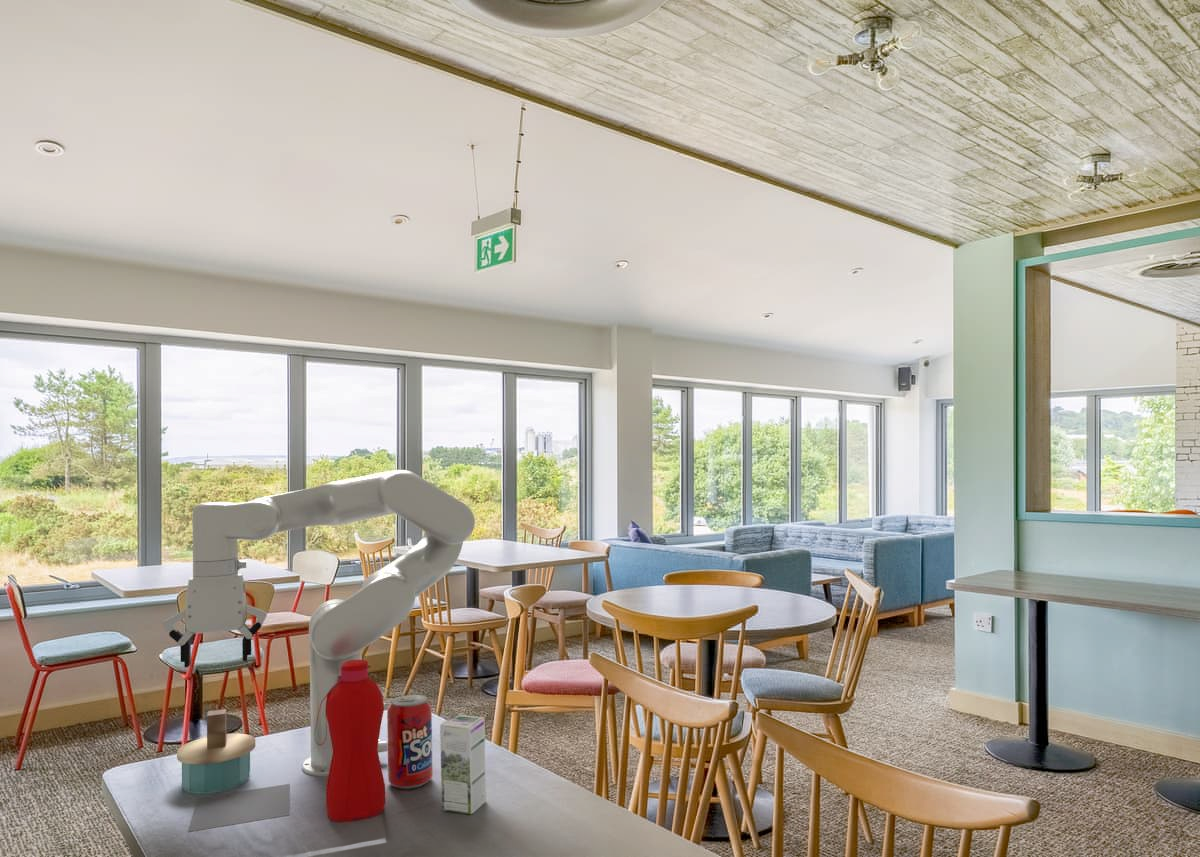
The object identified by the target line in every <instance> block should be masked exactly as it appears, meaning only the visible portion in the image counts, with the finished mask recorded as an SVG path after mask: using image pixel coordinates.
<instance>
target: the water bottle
mask: <svg viewBox="0 0 1200 857" xmlns="http://www.w3.org/2000/svg"><path fill="white" fill-rule="evenodd" d="M368 662H369V661H368V660H365V659H362V660H349V661H347V662H345V663H343V664H342V665H341V676H338V677H339V679H338V677H337V679H338V680H337V681H338V682H337V683H336V684H335V685H334V686H333V687H332V688H331V689H330V690H329V692H328V694H327V695H326V696H325V698H326V697H327V700H326V709H325V714H326V717H327V721H328V726H329V731H330V737H331V743H332V748H333V755H332V760H331V765H330V770H329V775H328V776H327V781H326V789H325V790H326V792H325V793H326V797H325V802H326V805H325V807H326V812H327V816H328V818H329V819H330V820H331V821H332V822H337V823H345V822H347V823H348V822H352V821H356V820H363V819H369V818H373V817H376V816H378V815H380V814H381V813H383V811H384V809H385V806H386V784H385V778H384V773H383V769H382V764H381V760H380V756H379V753H378V750H377V749H378V742H379V739H380V733H381V725H382V721H383V717H384V711H385V704H384V697H383V696H384V695H383V692H382V691H381V689H380V687H379V686H378V684H377V683H376V681H374V680H373V679H371V678H369V675H368V674H369V673H368V672H369V671H368V670H369V668H372V666H371V665H369V664H368ZM325 698H324V699H325ZM324 699H323V700H324ZM323 700H322V702H323ZM321 705H322V703H321ZM321 705H320V708H321ZM320 708H319V711H320ZM318 715H319V712H318ZM317 719H318V716H317ZM316 724H317V720H316ZM315 731H316V726H315ZM326 736H327V724H326ZM325 740H326V738H325ZM315 741H316V738H315ZM324 742H325V741H324ZM324 742H323V743H322V744H318V743H317V742H316V743H317V744H318V745H323V744H324Z"/></svg>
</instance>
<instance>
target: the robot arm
mask: <svg viewBox="0 0 1200 857" xmlns="http://www.w3.org/2000/svg"><path fill="white" fill-rule="evenodd" d="M393 514H394V515H397V516H398V517H400V518H401V519H402V520H405V521H406V522H408V523H409V524H410V525H413V526H415V528H417V529H420V530H422V531H423V536H422V537H421V539H420V540H419V542H417V544H415V545H414V546H413V547H412V548H410V549H409V550H407V551H406V552H405V553H403V554H402V555H401V556H398V557H397V558H396V559H394V560H392V561H391V562H389V563H388V564H386V565H385V566H383V567H382V568H379V569H378V570H376V571H374V572H373V573H371V574H370V575H368V576H367V577H366V578H365V580H364V581H363V582H362V585H361V588H360V589H359V590H357V592H355V593H354V594H351V595H350V596H349V597H348V598H346V599H338V598H335V599H329V600H326V601H324V602H323V603H321V604H320V605H319V606H317V607H316V609H314V611H313V612H312V614H311V617H310V619H309V623H308V624H309V625H308V640H309V641H308V642H309V643H308V644H309V684H310V685H309V692H310V693H309V696H310V697H309V698H310V699H309V700H310V701H309V702H310V704H309V705H310V707H309V708H310V709H309V710H310V711H309V712H310V714H309V715H310V716H309V718H310V719H309V720H310V756H309V757H308V758H307V759H305V760H304V761H303V763H302V764H301V767H302V769H301V770H302V772H303V773H305V774H307V775H309V776H315V777H328V775H329V770H330V765H331V760H332V755H333V748H332V743H331V737H330V731H329V726H328V721H327V717H326V714H325V709H326V700H327V697H326V698H325V696H326V695H327V694H328V692H329V690H330V689H331V688H332V687H333V686H334V685H335V684H336V683H337V682H338V681H337V680H338V679H339V677H338V676H341V665H342V664H343V663H345V662H347V661H349V660H363V659H362V658H363V657H362V651H363V649H366V648H367V647H368V646H370V645H372V644H373V643H375V642H376V641H378V639H380V638H382V637H384V636H385V635H386V634H387V633H389V632H390V631H391V630H393V629H395V628H396V627H397V626H398V625H400V624H402V623H403V622H404V621H405V620H406V618H407V617H409V615H410V614H411V612H412V611H413V609H414V606H415V603H416V598H417V597H418V596H420V595H421V594H423V593H424V592H426V591H427V590H428V589H430V588H431V587H433V586H434V585H435V584H436V583H437V582H439V581H440V580H442V579H444V577H445V576H446V575H447V574H448V573H449V572H450V571H451V570H452V569H453V567H454V566H455V565H456V563H457V560H458V559H459V556H460V554H461V551H462V548H463V544H464V542H465V541H466V540H467V539H469V538H470V537H471V536H472V534H473V531H474V529H475V526H476V525H475V524H476V523H475V522H476V521H475V520H476V519H475V516H474V513H473V511H472V509H471V508H470V507H469V505H467V504H466V503H464V502H463V501H461V500H459V499H457V498H455V497H454V496H452V495H451V494H449V493H447V492H446V491H444V490H442V489H441V488H439V487H437V486H435V485H434V484H432V483H430V482H429V481H427V480H426V479H424V478H423V477H421V475H419V474H416V473H415V472H413V471H411V470H406V469H392V470H388V471H383V472H377V473H373V474H368V475H363V476H359V477H357V476H356V477H352V478H348V479H341V480H337V481H331V482H328V483H327V482H326V483H323V484H320V485H317V486H313V487H309V488H308V487H307V488H304V489H300V490H294V491H293V490H292V491H288V492H284V493H279V494H274V495H268V496H263V497H257V498H253V499H251V500H250V501H245V502H237V503H234V502H230V501H210V502H201V503H198V504H195V506H194V507H193V509H192V521H191V522H192V524H191V525H192V577H189V578H188V581H187V589H186V597H185V609H183V610H181V611H180V612H178V613H175V614H174V615H172V616H170V617H169V618H167V619H165V620H164V621H163V622H162V625H163V627H164V629H165V630H166V632H167V633H168V636H169V637H170V638H171V639H173V640H174V641H175V642H176V643H178V645H179V646H180V648H179V649H180V663H184V665H183V667H184V668H189V667H190V665H191V661H192V658H191V657H192V652H191V651H192V650H191V649H192V648H191V642H190V639H191V637H192V636H193V635H194V634H206V633H207V634H208V633H218V632H230V631H238V632H239V633H240V634H241V635H242V636H243V638H242V642H241V644H242V661H243V662H247V661H248V658H249V657H248V656H251V655H252V638H253V636H254V635H255V634H256V633H257V632H258V631H259V630H260V629H261V628H262V626H263V624H264V622H265V620H266V618H267V615H268V612H266V611H265V610H262V609H261V608H257V607H255V606H253V605H249V604H247V598H246V597H247V596H246V594H247V593H246V584H245V581H244V577H243V576H244V575H243V573H239V571H240V570H242V569H247V561H246V560H240V559H239V556H238V555H239V553H238V552H239V550H238V546H239V545H238V543H239V542H238V540H244V541H245V540H246V541H264V540H267V539H269V538H271V537H273V536H274V535H275V534H277V533H278V534H279V533H281V532H287V531H291V530H297V529H302V528H308V527H309V528H310V527H314V526H315V527H317V526H328V527H329V526H330V527H332V526H333V527H334V526H342V525H343V526H344V525H346V524H351V523H355V522H357V523H358V522H361V521H366V520H370V519H374V518H375V519H376V518H379V517H384V516H388V515H393ZM248 614H249V615H252V616H253V617H256V620H255V623H254V624H252V625H251V627H249V626H248V625H247V624H246V622H247V617H248V616H247V615H248ZM183 619H184V627H185V632H184V633H181V632H180V631H179V630H177V628H176V626H175V624H177V623H178V622H180V621H182V620H183ZM337 677H338V679H337ZM324 698H325V699H324ZM323 699H324V700H323ZM322 700H323V702H322ZM321 703H322V705H321ZM320 705H321V708H320ZM319 708H320V711H319ZM318 712H319V715H318ZM317 716H318V719H317ZM316 720H317V724H316ZM326 724H327V736H326ZM315 726H316V731H315ZM315 738H316V741H315ZM325 738H326V740H325ZM324 741H325V742H324ZM316 742H317V743H318V744H322V743H323V742H324V744H323V745H318V744H317V743H316ZM377 750H378V754H379V753H384V752H388V740H384V741H381V740H380V738H379V742H378V749H377Z"/></svg>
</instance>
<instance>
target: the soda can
mask: <svg viewBox="0 0 1200 857" xmlns="http://www.w3.org/2000/svg"><path fill="white" fill-rule="evenodd" d="M428 699H429V697H427V696H426V695H423V694H406V695H401V696H397V697H394V698H393V699H391V701H390V703H391V704H390V706H389V707H388V709H387V713H386V720H387V722H386V725H387V726H386V727H387V729H386V730H387V745H388V751H387V780H388V783H389V784H390V785H391V786H393V787H395V788H397V789H401V790H412V789H417V788H420V787H423V786H424V785H425V784H427V783H428V782H430V780H432V778H433V775H434V774H433V773H434V770H433V768H434V767H433V716H432V715H433V714H432V712H433V711H432V704H430V702H429V701H428Z"/></svg>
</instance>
